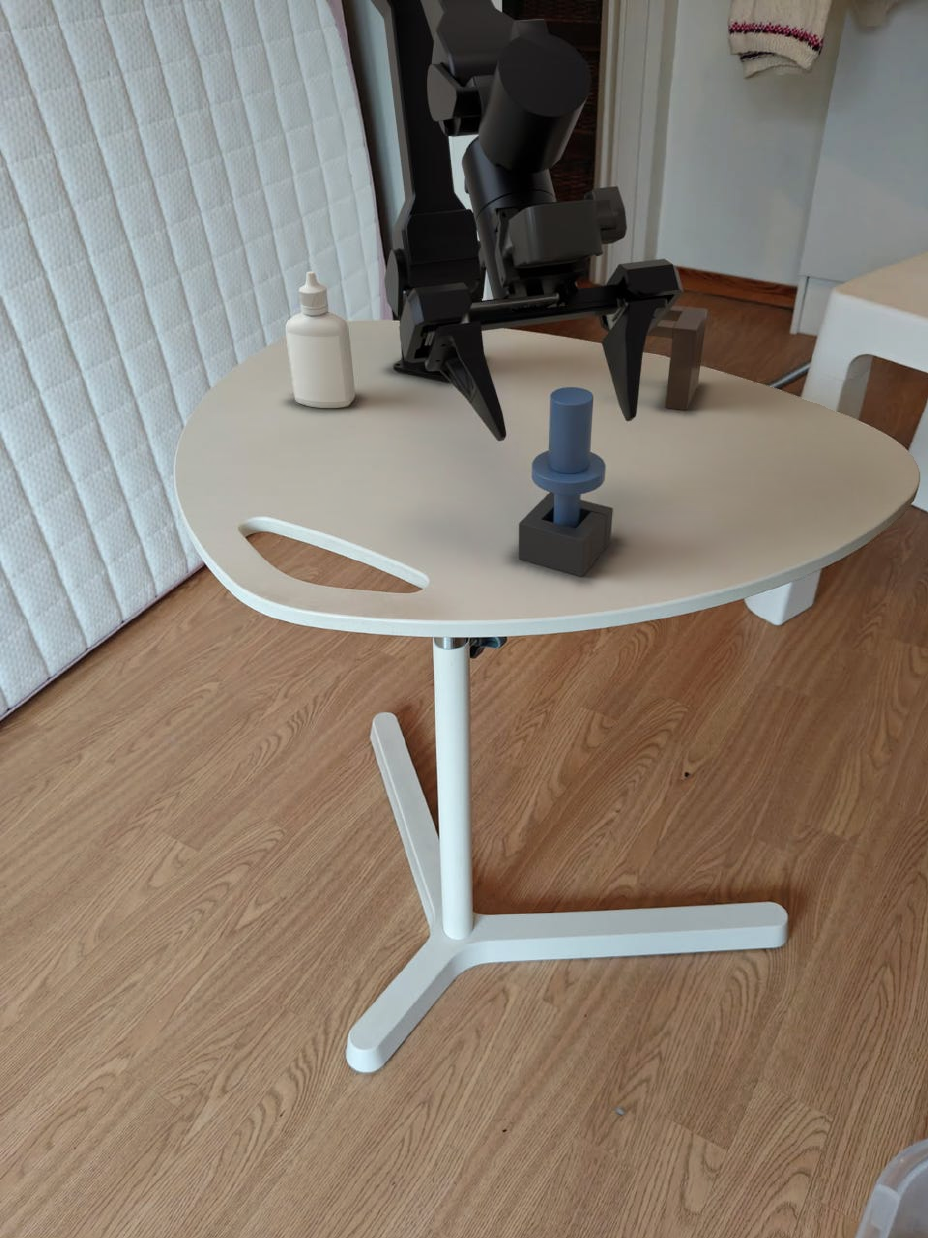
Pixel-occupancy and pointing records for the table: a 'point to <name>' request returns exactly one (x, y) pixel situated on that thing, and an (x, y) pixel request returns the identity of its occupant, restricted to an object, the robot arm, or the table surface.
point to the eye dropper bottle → (319, 351)
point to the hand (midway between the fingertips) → (567, 428)
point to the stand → (682, 352)
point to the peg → (569, 454)
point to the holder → (565, 537)
